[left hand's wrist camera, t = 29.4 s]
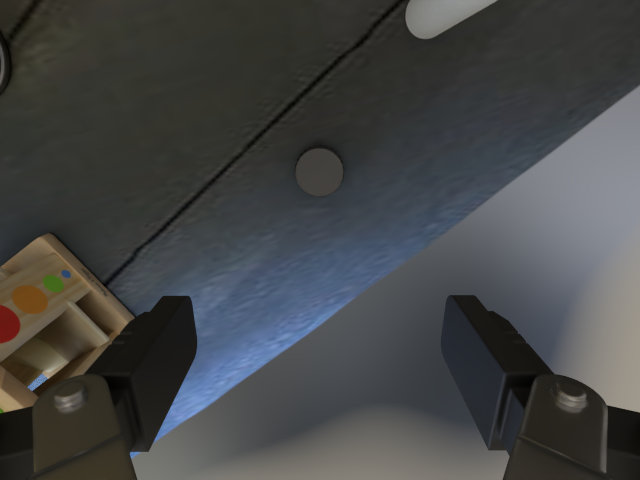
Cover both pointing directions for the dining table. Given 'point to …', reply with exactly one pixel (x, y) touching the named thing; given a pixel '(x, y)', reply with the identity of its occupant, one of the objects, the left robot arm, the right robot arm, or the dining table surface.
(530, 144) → the dining table surface
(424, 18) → the jar
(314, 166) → the lid
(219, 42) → the dining table surface
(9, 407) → the pounding bench toy
